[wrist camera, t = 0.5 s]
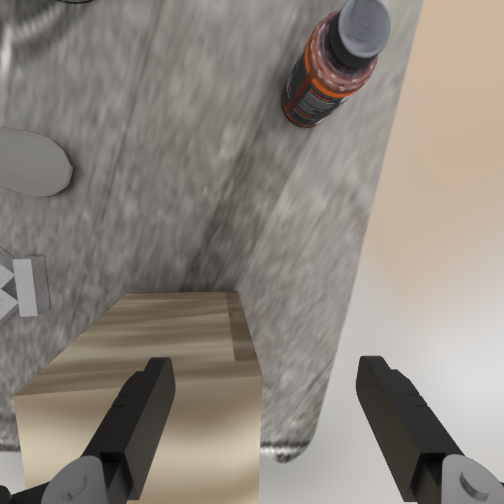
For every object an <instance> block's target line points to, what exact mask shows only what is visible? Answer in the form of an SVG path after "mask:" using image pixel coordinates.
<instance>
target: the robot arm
mask: <svg viewBox="0 0 504 504" xmlns="http://www.w3.org/2000/svg"><path fill="white" fill-rule="evenodd" d="M63 1H67V2H83V1H88V0H63ZM175 389H176V385H175V378H174V372H173V367H172V361H171V358H170V357H152V358H150V360H149V361H148V363H147V365H146V367H145V369H144V371H136V372H135V373H134V374H133V375H132V376H131V377H130V378H129V379H128V380H127V381H126V382H125V383H124V385H123V387H122V388H121V390H120V392H119V393H118V397H116V398H115V400H114V402H113V403H112V405H111V408H109V410H108V412H107V413H106V415H105V417H104V418H103V420H102V422H101V424H100V425H99V427H98V429H97V430H96V432H95V434H94V435H93V437H92V439H91V440H90V442H89V444H88V445H87V447H86V449H85V450H84V452H83V453H82V455H81V456H80V457H79V458H78V459H76V460H74V461H72V462H70V463H69V464H67V465H66V466H65V467H64V468H62V469H61V470H60V471H59V472H58V473H57V474H56V475H55V476H54V478H53V479H52V480H51V481H49V482H46V483H44V484H41V485H38V486H35V487H33V488H30V489H27V490H24V491H22V492H18V493H16V494H13V495H11V494H10V492H9V490H8V489H7V488H6V487H5V486H2V485H0V504H126V503H127V501H128V500H139V499H140V496H141V493H142V491H143V488H144V485H145V482H146V479H147V476H148V473H149V470H150V467H151V464H152V462H153V459H154V456H155V453H156V450H157V447H158V444H159V441H160V438H161V435H162V433H163V430H164V427H165V424H166V421H167V418H168V415H169V412H170V409H171V406H172V404H173V401H174V397H175ZM356 392H357V396H358V399H359V402H360V404H361V406H362V408H363V410H364V413H365V415H366V417H367V420H368V421H369V424H370V426H371V429H372V431H373V433H374V435H375V438H376V440H377V442H378V444H379V447H380V449H381V451H382V453H383V456H384V458H385V460H386V462H387V465H388V467H389V469H390V471H391V473H392V476H393V478H394V480H395V483H396V485H397V487H398V489H399V491H400V494H401V496H402V498H403V501H404V502H417V503H418V504H504V483H502V482H500V481H498V480H497V478H496V477H495V476H494V475H493V474H492V473H491V472H489V471H488V470H487V469H486V468H485V467H483V466H482V465H481V464H479V463H477V462H476V461H474V460H472V459H470V458H468V457H466V456H465V455H464V454H463V453H462V451H461V450H460V449H459V447H458V446H457V445H456V443H455V442H454V440H453V439H452V438H451V436H450V435H449V433H448V432H447V431H446V429H445V428H444V427H443V425H442V424H441V423H440V421H439V420H438V419H437V417H436V416H435V414H434V413H433V412H432V410H431V409H430V407H428V406H427V403H426V402H425V401H424V399H423V398H422V396H420V395H419V392H418V391H417V389H416V388H415V387H414V385H413V384H412V383H411V381H410V380H409V379H408V378H407V377H405V376H404V375H403V374H402V373H400V372H399V371H398V370H397V369H395V370H391V369H390V367H389V366H388V364H387V363H386V361H385V360H384V359H383V357H381V356H361V357H360V361H359V367H358V373H357V379H356Z"/></svg>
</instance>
